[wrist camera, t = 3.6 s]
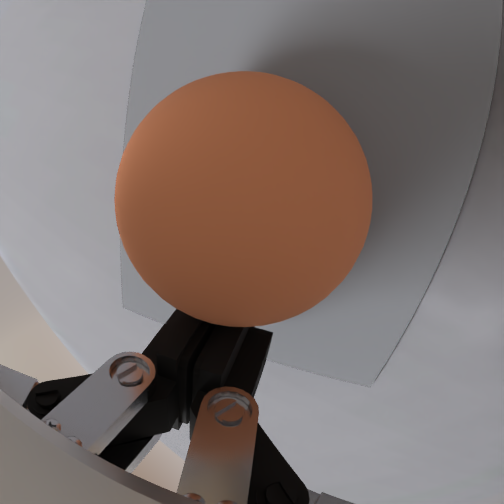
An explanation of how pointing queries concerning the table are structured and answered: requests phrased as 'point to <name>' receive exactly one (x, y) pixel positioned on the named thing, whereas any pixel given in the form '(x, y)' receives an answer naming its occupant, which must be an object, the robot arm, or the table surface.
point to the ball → (243, 199)
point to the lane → (364, 127)
